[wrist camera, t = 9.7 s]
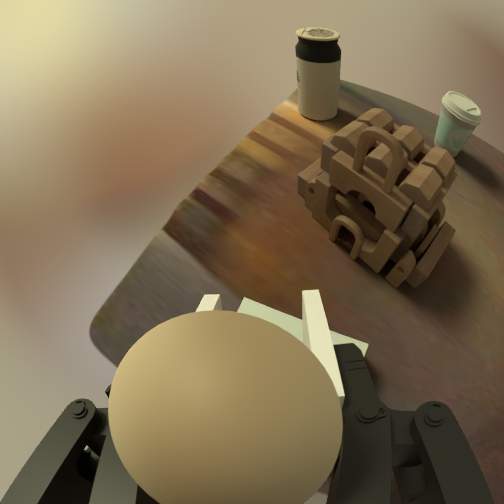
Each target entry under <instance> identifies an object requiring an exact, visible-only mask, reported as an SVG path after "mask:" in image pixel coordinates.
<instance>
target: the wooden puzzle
mask: <svg viewBox="0 0 504 504" xmlns="http://www.w3.org/2000/svg"><path fill="white" fill-rule="evenodd" d="M454 170H455V160H454V159H453V157H452V156H451V155H450V153H449V152H448V150H445V149H442V148H439V147H434V148H431V147H429V146H428V145H426V144H425V143H424V139H423V137H422V135H421V134H420V133H419V132H418V131H417V129H416V128H414V127H410V126H406V125H403V126H401V127H399V126H397V125H396V124H394V120H393V118H392V117H391V116H390V114H389V113H388V112H387V111H386V110H384V109H378V108H372V109H371V110H369V111H367V112H366V113H364V114H363V115H361V116H360V117H359V118H358V119H356V120H355V121H352V122H351V123H349V124H348V125H346V126H345V127H343V128H342V129H340V130H339V131H338V132H336V133H335V134H334V135H333V136H331V137H330V138H328V139H327V140H326V141H324V142H323V143H322V151H321V158H319V159H318V160H317V161H315V162H314V163H313V164H311V165H310V166H309V167H307V168H306V169H305V170H304V171H302V172H301V173H300V174H298V193H299V194H300V195H301V196H303V197H304V198H305V206H307V207H308V208H309V209H310V210H312V211H313V213H312V217H313V218H314V219H316V220H317V221H318V222H319V223H321V224H322V225H323V226H324V227H325V228H327V229H328V230H329V231H330V235H329V239H330V240H331V241H332V242H334V241H335V240H336V239H337V237H338V233H339V230H340V228H341V227H342V226H345V227H346V228H347V229H348V230H350V231H351V232H352V233H353V235H354V236H355V239H356V240H355V243H354V246H353V248H352V251H351V253H350V257H351V258H352V259H353V260H355V259H356V258H357V257H359V258H361V259H362V260H363V261H364V262H365V263H366V264H367V265H368V266H369V267H371V268H372V269H373V270H374V271H375V272H376V273H379V271H380V270H381V269H382V268H383V267H384V266H385V264H386V263H387V262H388V260H389V259H391V260H393V261H394V262H395V263H396V265H395V266H394V267H393V269H392V270H391V271H390V272H389V274H388V275H387V276H386V277H385V279H386V280H387V281H389V282H390V283H391V284H392V285H393V286H394V287H395V288H397V287H398V286H399V285H400V284H401V283H402V282H403V281H404V280H406V281H407V282H408V283H409V284H410V285H411V286H412V287H413V288H414V289H415V288H416V287H417V286H418V285H420V284H421V283H422V282H423V281H424V280H425V279H426V278H428V276H429V275H430V273H431V272H432V270H433V268H434V267H435V265H436V264H437V262H438V261H439V259H440V257H441V256H442V254H443V252H444V251H445V249H446V247H447V246H448V244H449V242H450V240H451V239H452V237H453V235H454V233H455V231H456V230H455V229H454V228H453V227H451V226H450V225H449V224H448V223H447V222H444V224H443V225H442V226H441V228H440V229H439V227H438V225H439V224H440V222H441V221H442V219H443V217H444V215H445V206H444V204H443V202H442V199H443V198H444V196H445V195H446V193H447V191H448V190H449V188H450V186H451V185H452V183H453V181H454V180H455V178H456V176H457V174H456V173H455V172H454ZM349 191H350V194H349V193H348V192H349ZM365 204H366V205H368V206H370V205H371V204H373V206H374V208H375V212H376V214H375V213H373V212H372V211H371V210H370V209H368V208H367V207H366V206H365ZM364 235H365V236H366V239H365V236H364ZM425 235H426V236H425ZM424 236H425V237H424ZM423 237H424V238H423ZM422 239H423V240H422ZM421 240H422V241H421ZM420 241H421V242H420ZM419 243H420V244H419ZM418 244H419V247H418V248H417V249H416V250H415V252H414V253H413V252H412V251H413V250H414V249H415V248H416V247H417V245H418ZM426 248H427V249H426ZM425 249H426V250H425ZM424 250H425V252H424V253H423V251H424ZM422 253H423V255H422V256H421V257H420V259H419V260H418V261H417V262H416V259H417V258H418V257H419V256H420V255H421V254H422Z"/></svg>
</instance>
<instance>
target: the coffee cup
mask: <svg viewBox="0 0 504 504" xmlns="http://www.w3.org/2000/svg"><path fill="white" fill-rule="evenodd" d="M442 103H443V104H442V109H441V114H440V118H439V122H438V127H437V131H436V135H435V139H434V144H435V146H436V147H439V148H442V149H445V150H448V152H449V153H450V155H451V156H452V157H455V156H457V154H458V153H459V152H460V150H461V149H462V147H463V146H464V144H465V143H466V141H467V140H468V138H469V137H470V135H471V134H472V132H473V131H474V129H475V128H476V126H477V125H479V124H480V121H481V111H480V109H479V108H478V106H477V105H476V104H475V103H473V102H472V101H471V100H470V99H468V98H467V97H465V96H464V95H462V94H460V93H457V92H453V91H449V92H448V93H447V94H446V95H445V96H444V97H443V99H442Z"/></svg>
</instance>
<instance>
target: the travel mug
mask: <svg viewBox="0 0 504 504" xmlns="http://www.w3.org/2000/svg"><path fill="white" fill-rule="evenodd" d="M296 35H297V36H298V39H299V42H298V43H297V45H296V62H297V63H296V64H297V85H298V110H299V112H300V113H301V114H302V115H303V116H305V117H307V118H309V119H313V120H328V119H331V118H333V117H335V116H336V114H337V108H338V96H339V81H340V62H341V49H340V47H339V46H338V44H337V42H338V39H339V38H340V35H339V33H337V32H335V31H333V30H330V29H325V28H315V27H314V28H313V27H310V28H302V29H299V30H297V31H296Z"/></svg>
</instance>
